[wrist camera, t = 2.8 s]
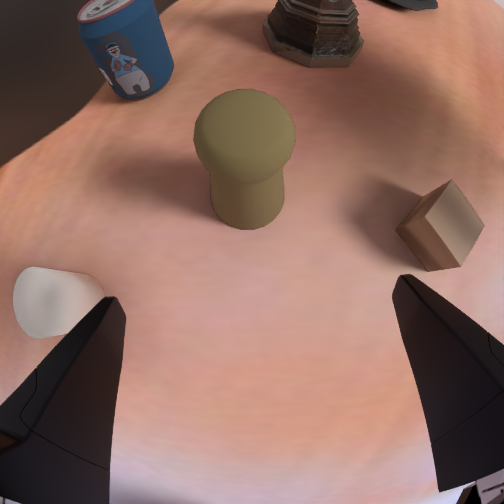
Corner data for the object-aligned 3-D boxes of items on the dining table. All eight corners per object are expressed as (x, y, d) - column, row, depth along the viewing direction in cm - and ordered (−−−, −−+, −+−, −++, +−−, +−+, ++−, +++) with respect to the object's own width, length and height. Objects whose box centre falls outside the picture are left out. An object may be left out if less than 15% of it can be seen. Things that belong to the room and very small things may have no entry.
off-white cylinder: (73, 335, 21) (23, 345, 14) (57, 284, 22) (7, 280, 15) (113, 320, 22) (66, 328, 15) (96, 265, 22) (47, 255, 15)
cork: (214, 235, 22) (181, 184, 12) (207, 166, 23) (178, 82, 12) (290, 224, 23) (322, 166, 12) (277, 157, 23) (293, 68, 12)
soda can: (157, 52, 25) (129, -24, 14) (188, 77, 25) (163, -13, 13) (108, 86, 25) (63, 15, 13) (133, 115, 24) (82, 34, 12)
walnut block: (427, 271, 22) (460, 266, 17) (394, 230, 23) (424, 216, 18) (452, 236, 22) (484, 225, 18) (422, 197, 23) (452, 179, 18)
